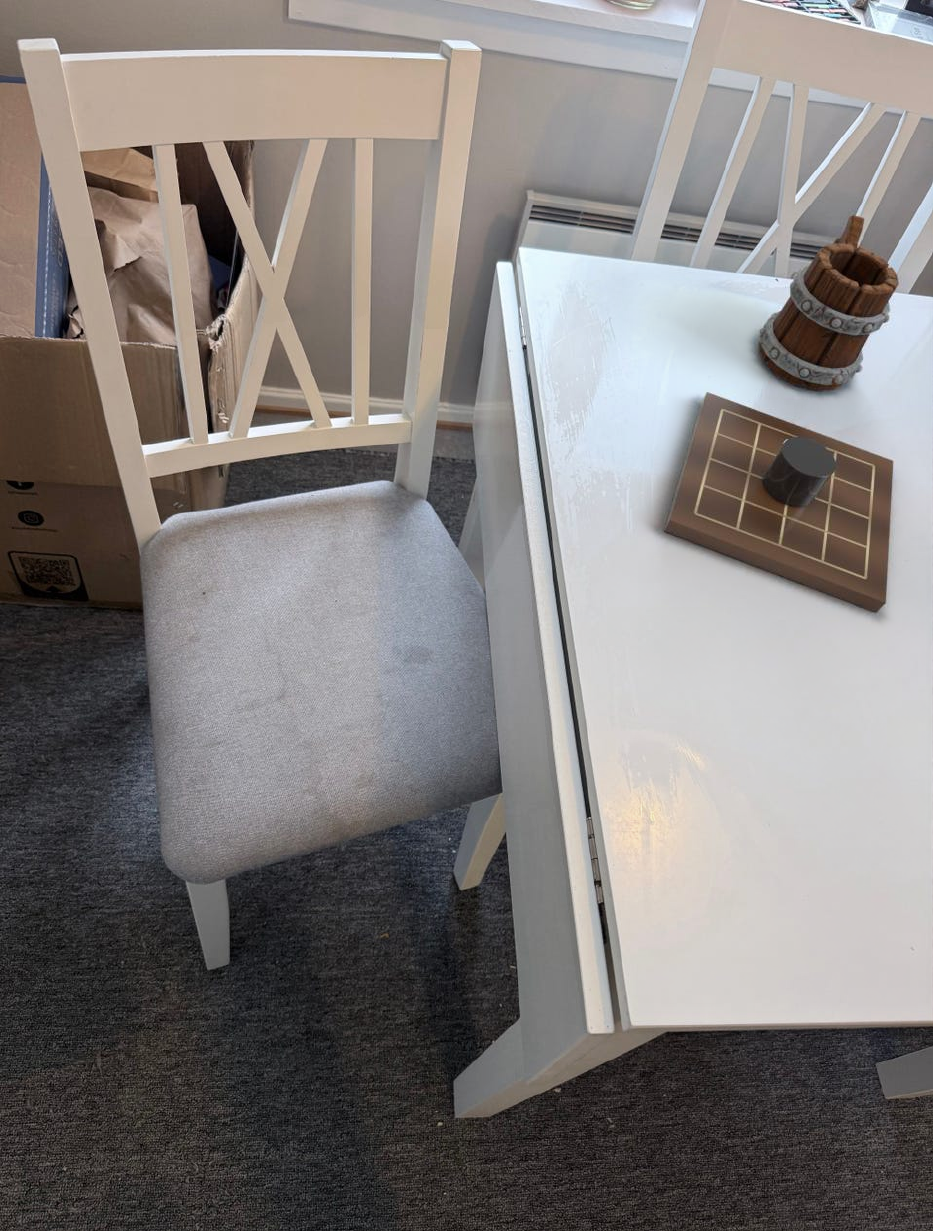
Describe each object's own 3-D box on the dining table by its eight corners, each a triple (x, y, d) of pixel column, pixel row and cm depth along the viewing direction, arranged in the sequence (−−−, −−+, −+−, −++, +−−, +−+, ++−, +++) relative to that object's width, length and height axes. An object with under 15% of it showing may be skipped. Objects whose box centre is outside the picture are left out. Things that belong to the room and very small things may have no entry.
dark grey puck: (825, 497, 80) (847, 467, 77) (789, 514, 78) (811, 483, 75) (787, 461, 82) (807, 430, 79) (751, 477, 80) (770, 445, 77)
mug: (752, 380, 91) (820, 241, 81) (744, 326, 101) (803, 197, 91) (856, 409, 91) (937, 274, 81) (836, 352, 101) (906, 226, 91)
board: (876, 613, 74) (886, 602, 73) (663, 531, 76) (669, 520, 75) (885, 471, 86) (893, 460, 85) (701, 402, 88) (707, 391, 86)
